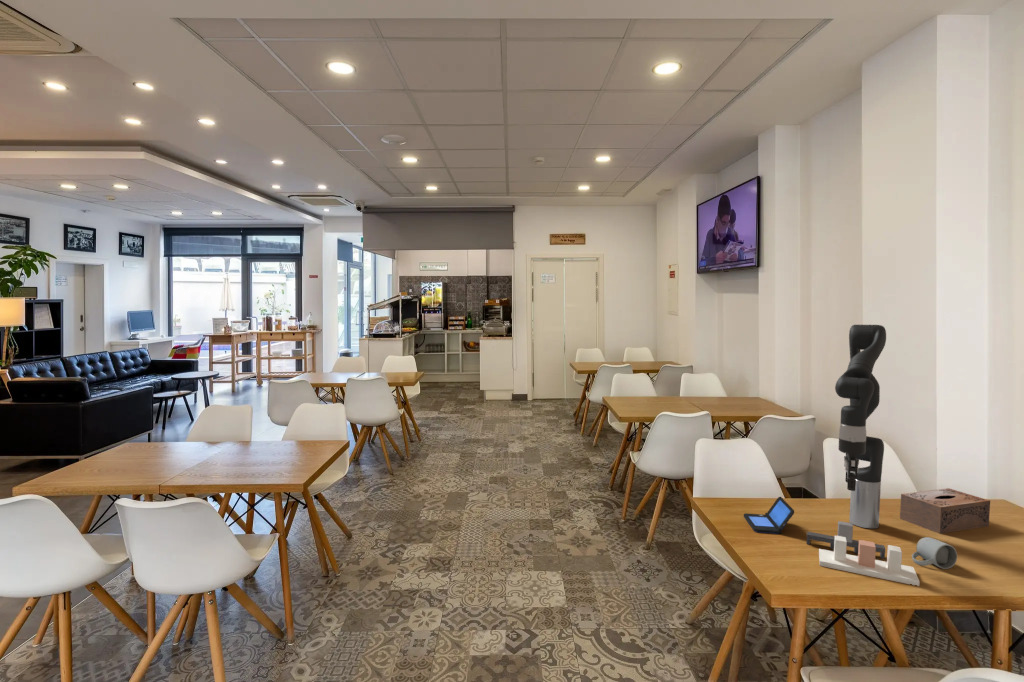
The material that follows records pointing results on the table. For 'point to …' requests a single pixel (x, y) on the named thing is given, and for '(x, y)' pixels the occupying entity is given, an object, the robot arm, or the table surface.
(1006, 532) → the table surface
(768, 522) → the handheld game console
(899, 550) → the display stand
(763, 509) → the table surface
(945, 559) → the ceramic mug
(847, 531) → the gray bar
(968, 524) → the tissue box cover
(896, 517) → the table surface
